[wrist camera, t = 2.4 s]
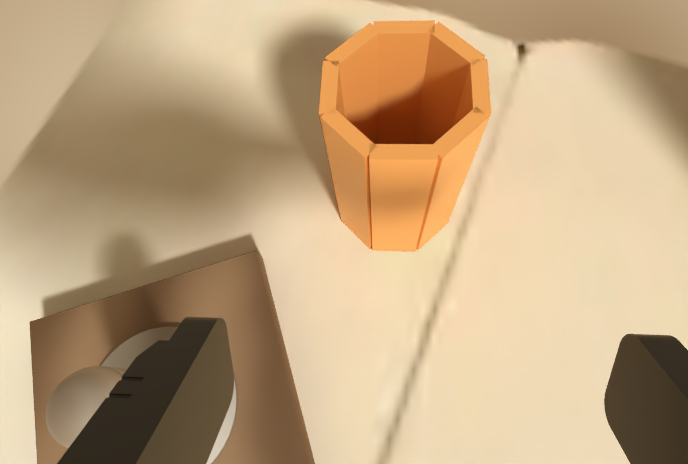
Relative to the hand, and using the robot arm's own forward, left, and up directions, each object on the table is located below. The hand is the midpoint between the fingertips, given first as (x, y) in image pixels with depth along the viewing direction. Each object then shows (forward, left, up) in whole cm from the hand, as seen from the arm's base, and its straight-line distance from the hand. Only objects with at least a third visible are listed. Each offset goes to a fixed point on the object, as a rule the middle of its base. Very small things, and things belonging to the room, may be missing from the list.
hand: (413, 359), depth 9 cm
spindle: (+11, -2, -14) cm, 18 cm away
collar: (-3, -9, -14) cm, 17 cm away
